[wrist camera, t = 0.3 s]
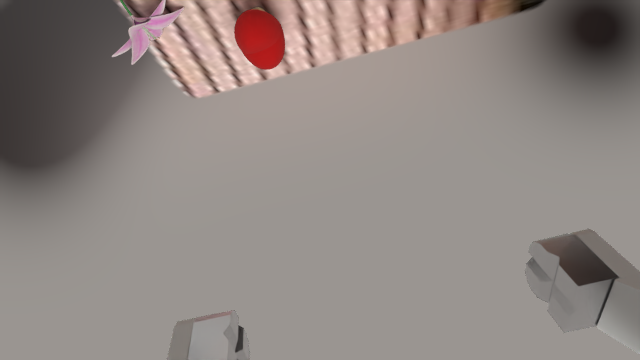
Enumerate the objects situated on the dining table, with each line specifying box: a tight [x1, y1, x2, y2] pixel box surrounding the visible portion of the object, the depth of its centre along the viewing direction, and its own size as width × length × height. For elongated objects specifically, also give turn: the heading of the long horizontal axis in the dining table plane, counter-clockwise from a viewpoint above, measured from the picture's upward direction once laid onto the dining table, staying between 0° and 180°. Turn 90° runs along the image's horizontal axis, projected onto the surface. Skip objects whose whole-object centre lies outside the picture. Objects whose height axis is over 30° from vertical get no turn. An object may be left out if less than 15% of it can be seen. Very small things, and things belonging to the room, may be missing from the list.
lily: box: [112, 0, 185, 65], centre depth 56 cm, size 12×12×10 cm
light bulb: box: [234, 7, 285, 70], centre depth 58 cm, size 9×7×10 cm
